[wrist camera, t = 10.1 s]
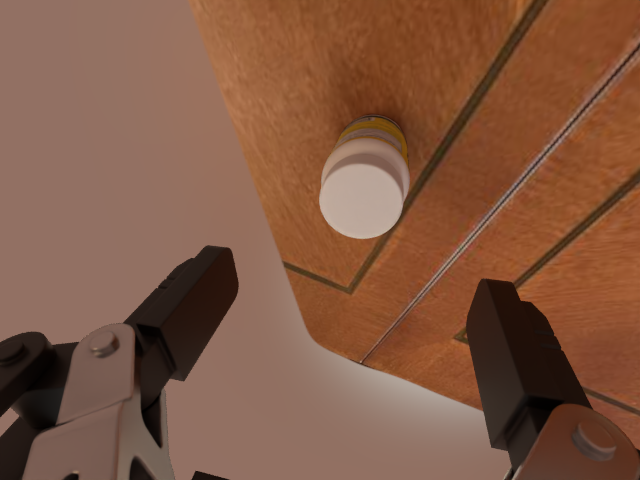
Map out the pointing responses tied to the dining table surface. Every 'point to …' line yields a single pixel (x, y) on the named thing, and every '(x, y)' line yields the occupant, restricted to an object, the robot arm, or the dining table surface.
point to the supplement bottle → (366, 178)
